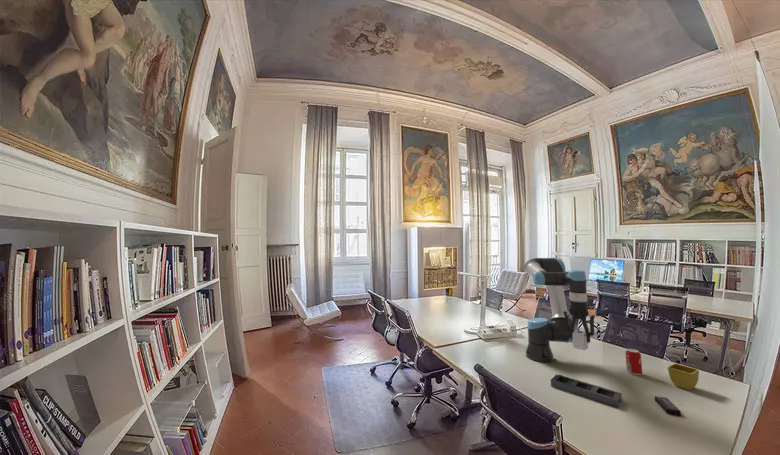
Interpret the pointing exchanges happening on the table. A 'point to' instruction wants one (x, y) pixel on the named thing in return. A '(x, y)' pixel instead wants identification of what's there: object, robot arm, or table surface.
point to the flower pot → (683, 376)
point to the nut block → (579, 339)
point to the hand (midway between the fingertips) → (580, 347)
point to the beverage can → (633, 362)
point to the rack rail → (587, 390)
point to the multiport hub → (667, 406)
